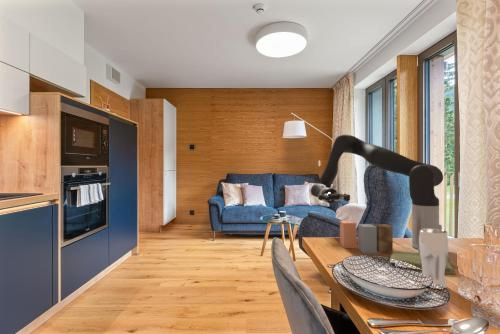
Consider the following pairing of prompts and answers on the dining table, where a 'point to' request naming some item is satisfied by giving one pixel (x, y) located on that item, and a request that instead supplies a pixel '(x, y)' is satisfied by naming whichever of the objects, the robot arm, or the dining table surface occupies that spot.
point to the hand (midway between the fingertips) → (338, 198)
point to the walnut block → (384, 238)
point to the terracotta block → (348, 234)
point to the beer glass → (433, 253)
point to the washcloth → (417, 260)
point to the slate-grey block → (367, 238)
